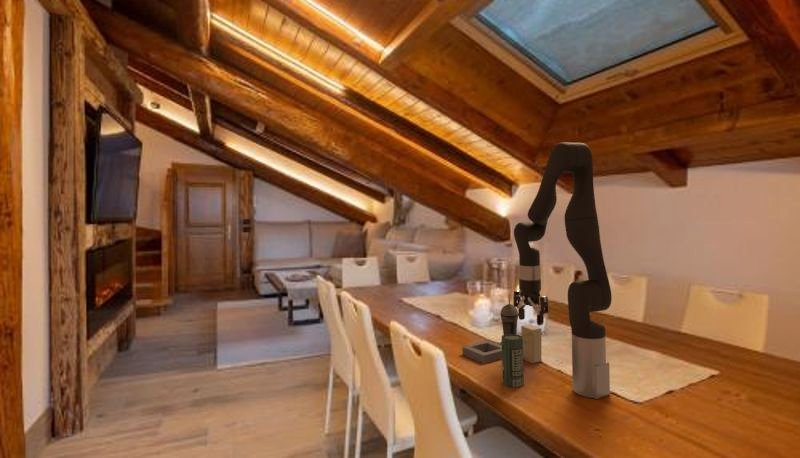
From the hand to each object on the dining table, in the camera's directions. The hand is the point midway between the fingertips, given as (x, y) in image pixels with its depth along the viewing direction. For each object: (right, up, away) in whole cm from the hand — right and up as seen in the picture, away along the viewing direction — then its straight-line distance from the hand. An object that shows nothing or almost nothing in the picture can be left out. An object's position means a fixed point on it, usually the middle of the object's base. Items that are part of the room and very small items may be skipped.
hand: (530, 321), depth 152 cm
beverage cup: (-2, -13, +21) cm, 25 cm away
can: (-11, -16, -19) cm, 27 cm away
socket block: (-15, -14, +7) cm, 21 cm away
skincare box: (+1, -14, 0) cm, 14 cm away
